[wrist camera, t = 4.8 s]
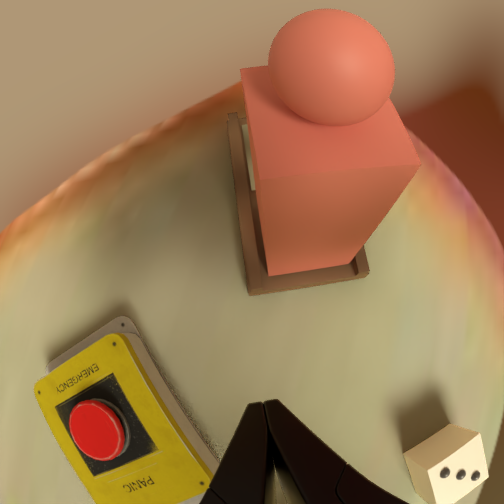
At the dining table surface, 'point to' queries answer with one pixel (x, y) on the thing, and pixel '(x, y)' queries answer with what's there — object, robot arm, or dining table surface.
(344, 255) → the pawn
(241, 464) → the robot arm
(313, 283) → the track
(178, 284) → the dining table surface
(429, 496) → the die
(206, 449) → the emergency button
